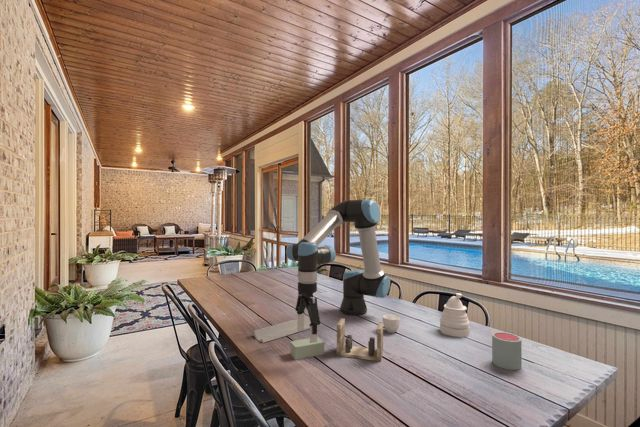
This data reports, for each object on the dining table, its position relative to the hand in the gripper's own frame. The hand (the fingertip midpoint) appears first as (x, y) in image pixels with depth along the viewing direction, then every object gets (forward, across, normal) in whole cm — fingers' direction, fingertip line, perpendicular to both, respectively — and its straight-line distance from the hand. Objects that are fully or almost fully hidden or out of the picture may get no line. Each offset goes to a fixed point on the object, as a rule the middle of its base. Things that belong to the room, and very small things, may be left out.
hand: (306, 336), depth 123 cm
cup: (+7, -7, +46) cm, 47 cm away
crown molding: (+8, -28, 0) cm, 29 cm away
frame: (+7, +8, +19) cm, 22 cm away
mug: (+7, +36, +66) cm, 76 cm away
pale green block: (+7, 0, 0) cm, 7 cm away
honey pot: (+7, +6, +72) cm, 73 cm away
